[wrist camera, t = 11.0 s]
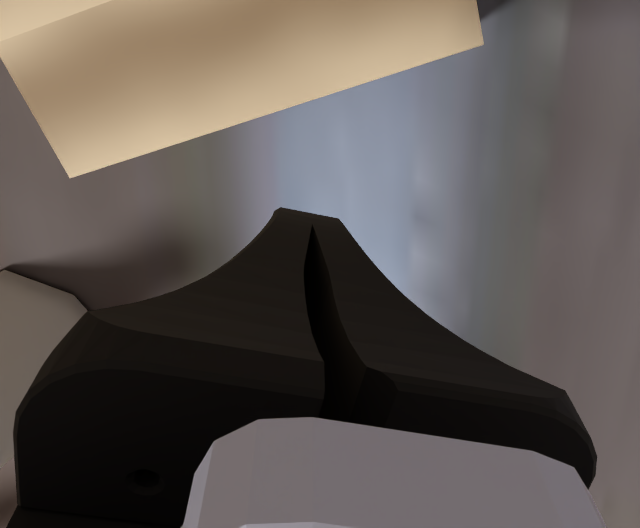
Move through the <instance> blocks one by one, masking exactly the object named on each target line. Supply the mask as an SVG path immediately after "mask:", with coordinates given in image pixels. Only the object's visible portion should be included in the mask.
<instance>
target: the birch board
mask: <svg viewBox="0 0 640 528" xmlns="http://www.w3.org/2000/svg"><path fill="white" fill-rule="evenodd" d="M481 45H484V43H483V37H482V31H481V25H480V19H479V13H478V7H477V1H476V0H0V57H1V59H2V61H3V63H4V64H5V66H6V68H7V70H8V71H9V73H10V75H11V77H12V78H13V80H14V82H15V84H16V85H17V87H18V89H19V91H20V92H21V94H22V96H23V97H24V99H25V101H26V103H27V104H28V106H29V108H30V110H31V111H32V113H33V115H34V117H35V118H36V120H37V122H38V124H39V125H40V127H41V129H42V131H43V132H44V134H45V136H46V138H47V139H48V141H49V143H50V144H51V146H52V148H53V150H54V151H55V153H56V155H57V157H58V158H59V160H60V162H61V164H62V165H63V167H64V169H65V171H66V172H67V174H68V176H69V178H72V177H75V176H79V175H82V174H85V173H88V172H91V171H94V170H97V169H100V168H103V167H106V166H110V165H113V164H116V163H119V162H122V161H125V160H128V159H131V158H134V157H137V156H140V155H144V154H147V153H150V152H153V151H156V150H159V149H162V148H165V147H168V146H171V145H174V144H178V143H181V142H184V141H187V140H190V139H193V138H196V137H199V136H202V135H205V134H209V133H212V132H215V131H218V130H221V129H224V128H227V127H230V126H233V125H236V124H239V123H243V122H246V121H249V120H252V119H255V118H258V117H261V116H264V115H267V114H270V113H273V112H277V111H280V110H283V109H286V108H289V107H292V106H295V105H298V104H301V103H304V102H308V101H311V100H314V99H317V98H320V97H323V96H326V95H329V94H332V93H335V92H338V91H342V90H345V89H348V88H351V87H354V86H357V85H360V84H363V83H366V82H369V81H372V80H376V79H379V78H382V77H385V76H388V75H391V74H394V73H397V72H400V71H403V70H407V69H410V68H413V67H416V66H419V65H422V64H425V63H428V62H431V61H434V60H437V59H441V58H444V57H447V56H450V55H453V54H456V53H459V52H462V51H465V50H468V49H471V48H475V47H478V46H481Z"/></svg>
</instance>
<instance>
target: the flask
mask: <svg viewBox="0 0 640 528" xmlns="http://www.w3.org/2000/svg"><path fill="white" fill-rule="evenodd" d="M86 312H87V310H86V308H85V307H84V306H83V305H82V304H81V303H80V302H79V300H78V299H77V298H76V297H75V296H74V295H73V294H70V293H67V292H64V291H62V290H59V289H56V288H53V287H50V286H48V285H45V284H42V283H39V282H37V281H34V280H31V279H28V278H26V277H23V276H20V275H17V274H15V273H12V272H9V271H6V270H3V271H1V272H0V469H1V467H2V466H4V465H5V464H6V463H7V462H8V461H9V460H10V459H12V458H13V457H14V444H13V428H14V420H15V413H16V410H17V408H18V407H19V405H20V403H21V401H22V400H23V398H24V396H25V394H26V393H27V391H28V389H29V388H30V386H31V384H32V382H33V381H34V379H35V377H36V375H37V374H38V372H39V370H40V368H41V367H42V365H43V364H44V362H45V361H46V359H47V358H48V356H49V355H50V353H51V352H52V351H53V349H54V348H55V347H56V346H57V345H58V344H59V342H60V341H61V340H62V339H63V338H64V336H65V335H66V334H67V333H68V332H69V331H70V330H71V328H72V327H73V326H74V325H75V324H76V323H77V322H78V320H79V319H80V318H81V317H82V316H83V315H84V314H85V313H86Z"/></svg>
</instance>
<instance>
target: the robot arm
mask: <svg viewBox="0 0 640 528" xmlns="http://www.w3.org/2000/svg"><path fill="white" fill-rule="evenodd" d="M13 444H14V459H15V474H16V489H17V504H18V506H17V508H16V510H15V512H14V514H13V516H12V518H11V519H10V521H9V523H8V525H7V527H6V528H607V527H606V525H605V523H604V520H603V518H602V516H601V514H600V512H599V510H598V508H597V506H596V504H595V502H594V500H593V498H592V496H591V494H590V492H589V491H588V490H589V487H590V485H591V483H592V481H593V479H594V477H595V474H596V462H597V455H596V452H595V449H594V446H593V443H592V440H591V437H590V436H589V434H588V432H587V430H586V428H585V426H584V424H583V422H582V421H581V419H580V417H579V415H578V413H577V411H576V409H575V407H574V406H573V404H572V402H571V400H570V398H569V396H568V395H567V393H566V391H565V390H563V389H560V388H558V387H556V386H554V385H551V384H549V383H547V382H545V381H542V380H540V379H538V378H535V377H533V376H531V375H529V374H526V373H524V372H522V371H520V370H517V369H515V368H513V367H511V366H509V365H507V364H505V363H503V362H501V361H499V360H498V359H496V358H494V357H492V356H490V355H488V354H486V353H485V352H483V351H481V350H479V349H478V348H476V347H474V346H473V345H471V344H469V343H468V342H466V341H464V340H463V339H461V338H460V337H458V336H457V335H455V334H454V333H452V332H451V331H449V330H448V329H446V328H445V327H443V326H442V325H440V324H439V323H438V322H436V321H435V320H434V319H432V318H431V317H430V316H428V315H427V314H426V313H424V312H423V311H422V310H421V309H420V308H418V307H417V306H416V305H415V304H414V303H413V302H411V301H410V300H409V299H408V298H407V297H406V296H404V295H403V294H402V293H401V292H400V291H399V290H398V289H397V288H396V287H395V286H394V285H393V284H392V283H391V282H390V281H389V280H388V279H387V278H386V277H385V275H384V274H383V273H382V272H381V271H380V270H379V269H378V268H377V267H376V265H375V264H374V263H373V262H372V261H371V260H370V258H369V257H368V256H367V255H366V253H365V252H364V251H363V250H362V248H361V247H360V246H359V245H358V243H357V242H356V241H355V239H354V238H353V237H352V235H351V234H350V233H349V231H348V230H347V229H346V227H345V226H344V225H343V223H342V222H341V221H340V220H339V219H338V218H333V217H328V216H322V215H317V214H312V213H307V212H302V211H297V210H291V209H286V208H281V207H280V208H279V209H277V210H275V211H274V213H273V216H272V217H271V219H270V220H269V222H268V223H267V224H266V226H265V227H264V228H263V229H262V231H261V232H260V233H259V234H258V235H257V236H256V237H255V238H254V239H253V240H252V241H251V242H250V243H249V244H248V245H247V246H246V247H245V248H244V249H243V250H241V251H240V252H239V253H238V254H237V255H236V256H234V257H233V258H232V259H231V260H230V261H228V262H227V263H226V264H224V265H223V266H221V267H220V268H218V269H217V270H215V271H214V272H212V273H211V274H209V275H207V276H206V277H204V278H202V279H200V280H198V281H196V282H193V283H191V284H189V285H187V286H185V287H183V288H180V289H178V290H175V291H172V292H170V293H167V294H164V295H161V296H158V297H154V298H151V299H147V300H144V301H140V302H136V303H131V304H126V305H121V306H115V307H110V308H105V309H99V310H92V311H87V312H86V313H85V314H84V315H83V316H82V317H81V318H80V319H79V320H78V322H77V323H76V324H75V325H74V326H73V327H72V328H71V330H70V331H69V332H68V333H67V334H66V335H65V336H64V338H63V339H62V340H61V341H60V342H59V344H58V345H57V346H56V347H55V348H54V349H53V351H52V352H51V353H50V355H49V356H48V358H47V359H46V361H45V362H44V364H43V365H42V367H41V368H40V370H39V372H38V374H37V375H36V377H35V379H34V381H33V382H32V384H31V386H30V388H29V389H28V391H27V393H26V394H25V396H24V398H23V400H22V401H21V403H20V405H19V407H18V408H17V410H16V413H15V420H14V428H13Z"/></svg>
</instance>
